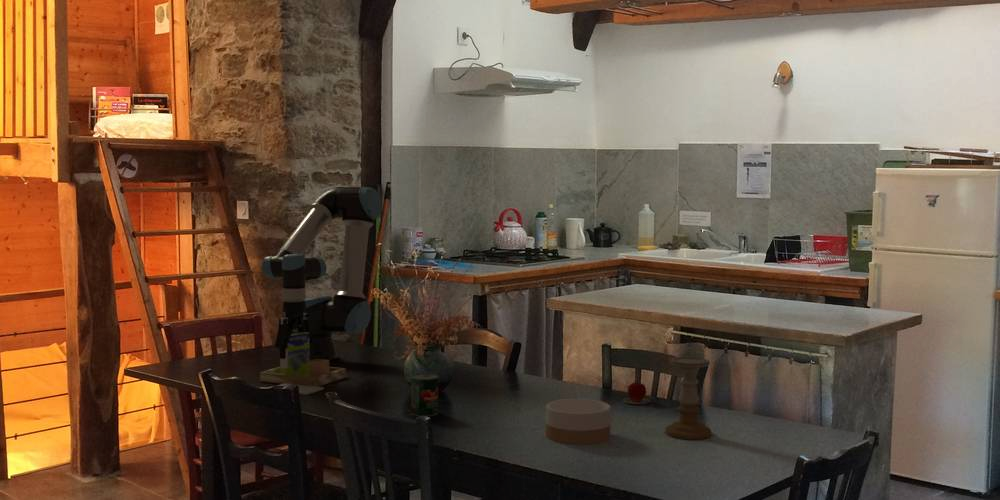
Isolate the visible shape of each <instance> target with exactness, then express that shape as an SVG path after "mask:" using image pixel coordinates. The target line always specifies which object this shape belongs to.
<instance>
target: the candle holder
mask: <svg viewBox="0 0 1000 500" xmlns="http://www.w3.org/2000/svg"><path fill="white" fill-rule="evenodd" d="M669 363H670V365H672V366H675V367H679V370H680V371H681V372H682V377H681V379H679V383H680V384H681V388H680V392H679V395H678V402H679V406H678V407H677V410H678V413H679V420H676V421H674V422H672V423H671V424H669V425H667V426H666V427H665V428H664V432H665V434H666V435H667V436H668V437H671V438H674V437H675V439H679V438H680V439H679V440H704V439H707V438H709V437H711V435H712V430H711V428H710V427H708V426H706V425H705V423H703V422H701V421H700V422H699V420H698V413H699V412H700V411H701V410H700V407H699V406H698V403H699V402H700V397H699V394H698V387H697V385H698V384H699V380H698V379H697V377H696V375H697V373H698V372H699V370H700V368H705V367H708V366H709V365H710V360H709V359H707V358H703V357H697V356H678V357H677V356H676V357H672V358H670V359H669Z"/></svg>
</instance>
